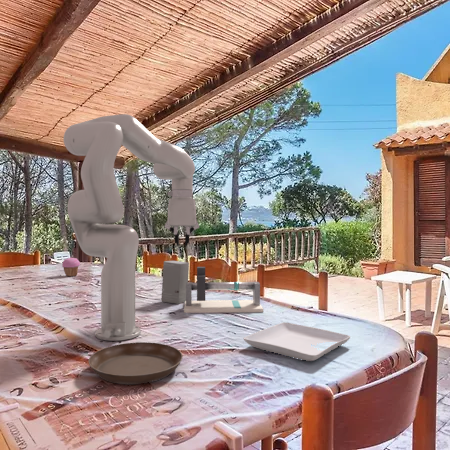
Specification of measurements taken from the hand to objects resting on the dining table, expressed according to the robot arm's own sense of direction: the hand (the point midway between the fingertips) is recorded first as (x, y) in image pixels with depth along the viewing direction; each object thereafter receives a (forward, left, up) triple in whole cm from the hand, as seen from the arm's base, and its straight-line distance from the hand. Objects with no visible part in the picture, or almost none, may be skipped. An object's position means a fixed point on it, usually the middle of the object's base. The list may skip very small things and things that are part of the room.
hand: (182, 245), depth 149 cm
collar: (0, -7, -20) cm, 21 cm away
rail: (0, -15, -22) cm, 27 cm away
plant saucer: (-57, +8, -24) cm, 62 cm away
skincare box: (+11, +3, -23) cm, 26 cm away
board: (0, -15, -23) cm, 28 cm away
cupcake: (+74, +62, -23) cm, 99 cm away
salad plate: (-44, -32, -24) cm, 59 cm away
